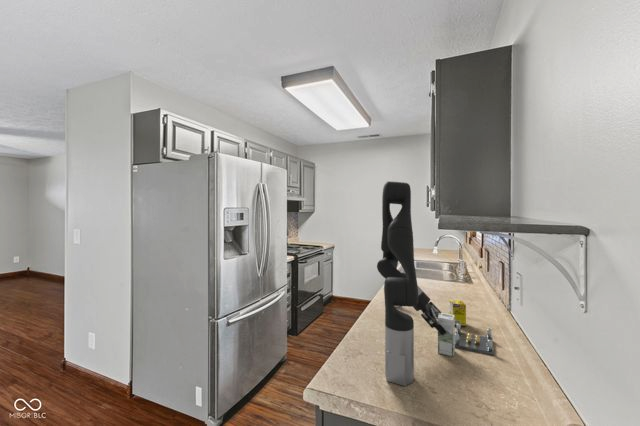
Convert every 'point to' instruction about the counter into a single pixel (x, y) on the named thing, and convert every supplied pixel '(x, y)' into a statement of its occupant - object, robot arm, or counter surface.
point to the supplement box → (458, 312)
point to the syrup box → (446, 335)
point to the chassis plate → (474, 341)
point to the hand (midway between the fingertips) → (445, 329)
